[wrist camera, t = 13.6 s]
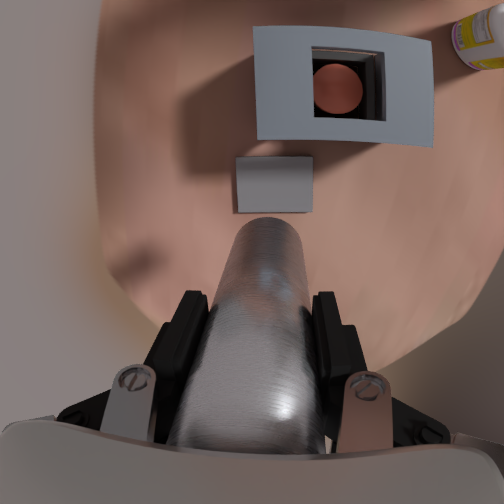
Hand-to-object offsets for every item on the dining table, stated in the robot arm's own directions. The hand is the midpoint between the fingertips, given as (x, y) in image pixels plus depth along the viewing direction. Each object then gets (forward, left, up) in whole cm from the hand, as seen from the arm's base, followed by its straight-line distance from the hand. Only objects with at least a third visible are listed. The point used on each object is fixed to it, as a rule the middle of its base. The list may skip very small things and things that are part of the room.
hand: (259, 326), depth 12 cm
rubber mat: (0, 0, -24) cm, 24 cm away
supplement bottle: (-24, -19, -25) cm, 39 cm away
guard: (-6, -10, -24) cm, 27 cm away
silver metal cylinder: (0, 0, -7) cm, 7 cm away
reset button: (-6, -10, -23) cm, 26 cm away
